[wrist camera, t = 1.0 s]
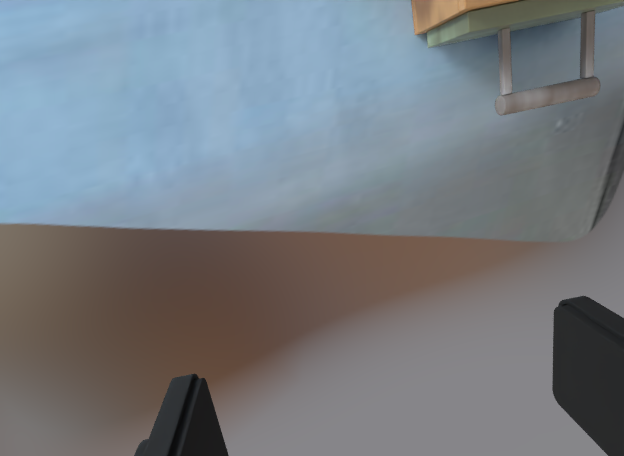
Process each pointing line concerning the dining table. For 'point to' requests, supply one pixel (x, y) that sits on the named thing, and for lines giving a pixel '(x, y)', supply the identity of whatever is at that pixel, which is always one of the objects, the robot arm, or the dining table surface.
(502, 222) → the dining table surface
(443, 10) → the cabinet
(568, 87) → the drawer
